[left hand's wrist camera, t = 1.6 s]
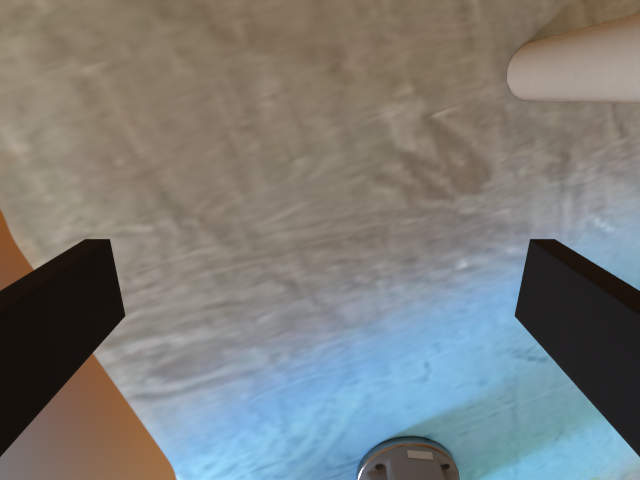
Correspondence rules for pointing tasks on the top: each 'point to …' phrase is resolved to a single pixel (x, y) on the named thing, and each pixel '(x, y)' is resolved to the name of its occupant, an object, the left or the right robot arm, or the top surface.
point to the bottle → (581, 65)
